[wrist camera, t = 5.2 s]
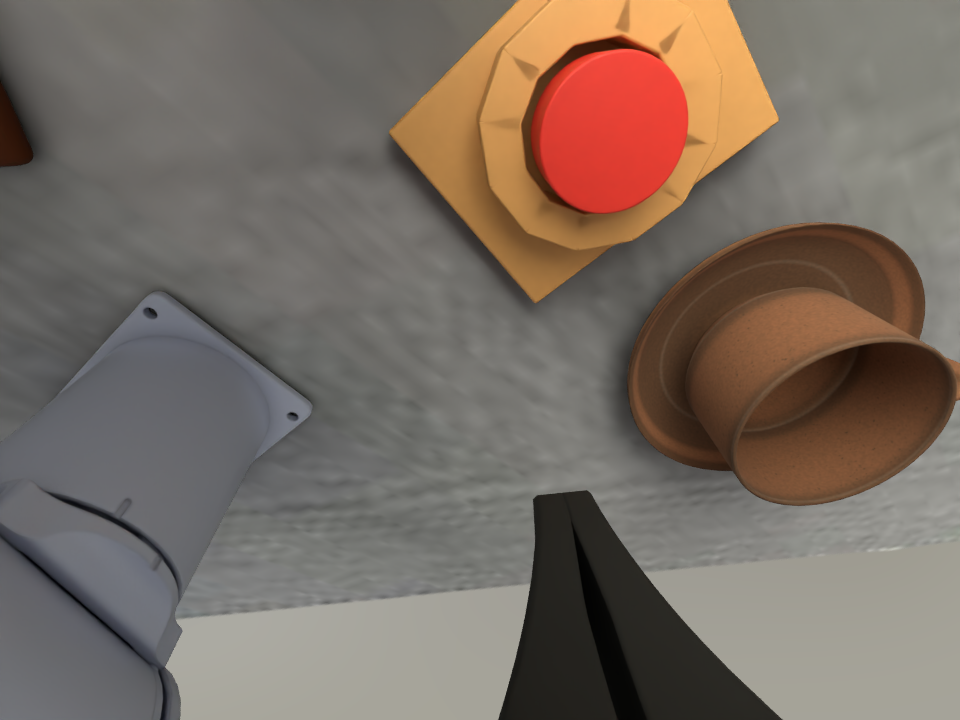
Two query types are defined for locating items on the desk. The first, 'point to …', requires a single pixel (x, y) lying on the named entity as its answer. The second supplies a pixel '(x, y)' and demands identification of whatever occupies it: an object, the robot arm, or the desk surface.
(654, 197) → the box
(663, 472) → the desk surface
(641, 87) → the button
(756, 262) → the cup and saucer
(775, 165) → the desk surface
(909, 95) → the desk surface
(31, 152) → the smartphone
